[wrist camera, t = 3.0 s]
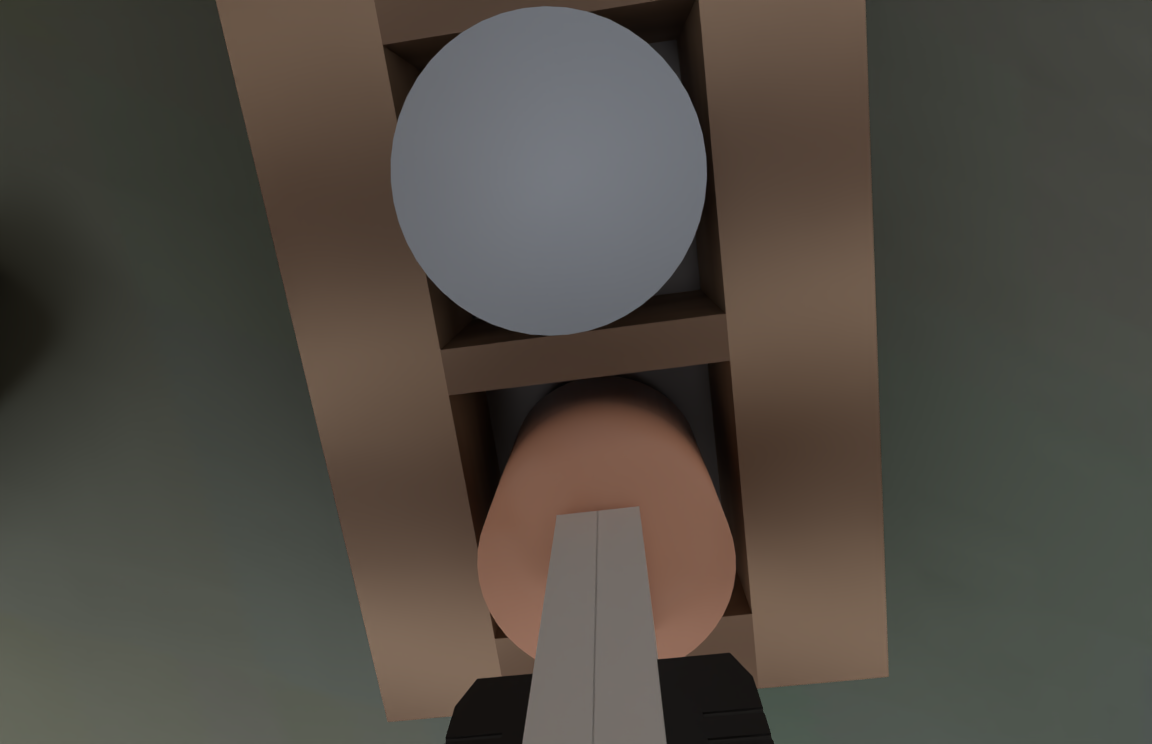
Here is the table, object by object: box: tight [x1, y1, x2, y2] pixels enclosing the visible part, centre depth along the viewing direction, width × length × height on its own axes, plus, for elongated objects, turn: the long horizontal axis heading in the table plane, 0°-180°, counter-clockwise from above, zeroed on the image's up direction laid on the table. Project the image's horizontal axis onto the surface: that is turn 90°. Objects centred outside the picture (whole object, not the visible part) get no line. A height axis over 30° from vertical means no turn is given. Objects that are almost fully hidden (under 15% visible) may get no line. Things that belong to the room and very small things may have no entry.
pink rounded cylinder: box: [477, 376, 736, 659], centre depth 15 cm, size 5×5×5 cm
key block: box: [216, 0, 889, 722], centre depth 16 cm, size 24×12×4 cm, turn 8°
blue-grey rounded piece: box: [391, 6, 707, 336], centre depth 13 cm, size 5×5×5 cm
